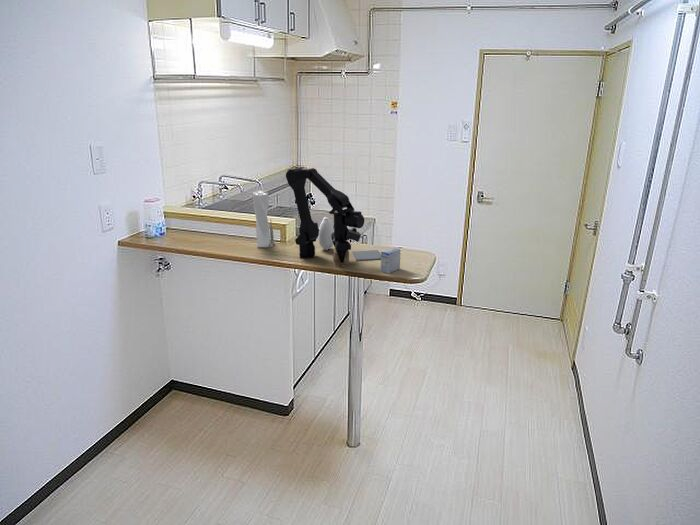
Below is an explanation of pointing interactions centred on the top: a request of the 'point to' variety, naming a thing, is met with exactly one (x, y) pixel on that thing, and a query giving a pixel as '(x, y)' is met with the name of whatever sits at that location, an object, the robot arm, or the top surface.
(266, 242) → the skyscraper
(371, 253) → the mat
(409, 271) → the top surface
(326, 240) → the white elongated ovoid
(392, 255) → the medicine box
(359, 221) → the robot arm
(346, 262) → the cube
